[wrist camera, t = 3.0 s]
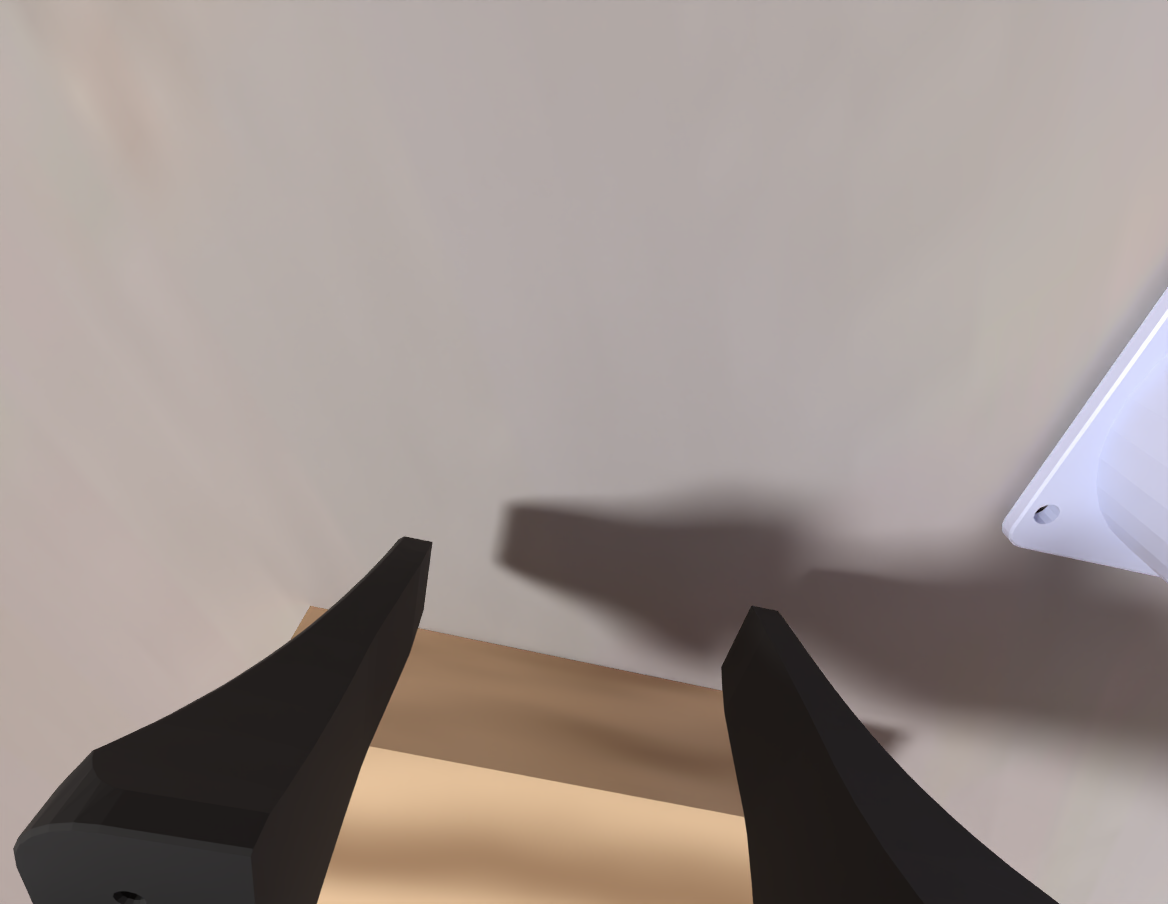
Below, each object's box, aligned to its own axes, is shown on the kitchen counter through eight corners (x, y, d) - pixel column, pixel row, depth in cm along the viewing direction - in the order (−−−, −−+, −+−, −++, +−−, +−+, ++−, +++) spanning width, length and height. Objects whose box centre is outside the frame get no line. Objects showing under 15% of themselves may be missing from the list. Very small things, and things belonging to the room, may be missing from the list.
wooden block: (315, 595, 17) (242, 722, 14) (790, 695, 19) (831, 833, 15) (308, 765, 21) (250, 895, 18) (700, 837, 23) (716, 972, 19)
